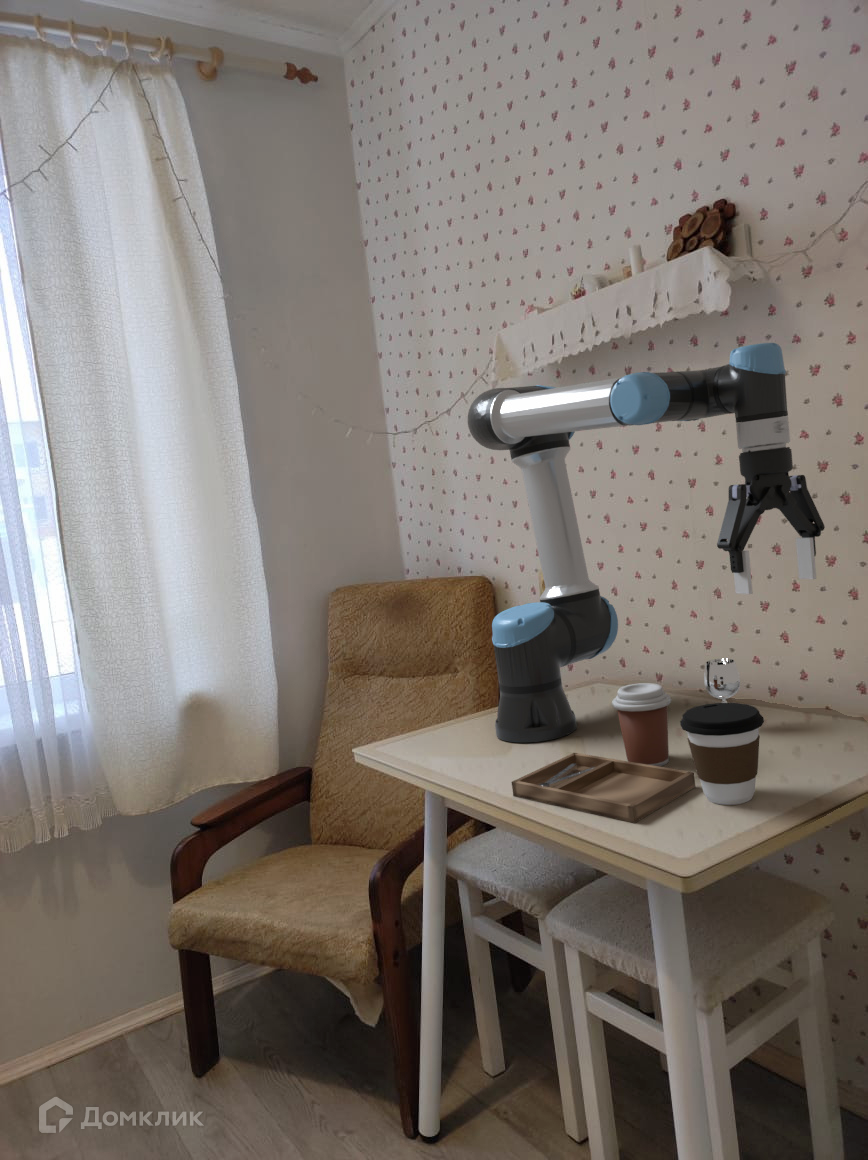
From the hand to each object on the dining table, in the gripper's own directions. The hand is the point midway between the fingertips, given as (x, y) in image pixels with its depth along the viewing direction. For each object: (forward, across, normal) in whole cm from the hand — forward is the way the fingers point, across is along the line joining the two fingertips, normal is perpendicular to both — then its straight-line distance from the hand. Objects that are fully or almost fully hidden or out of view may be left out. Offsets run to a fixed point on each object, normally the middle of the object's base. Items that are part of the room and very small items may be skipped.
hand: (776, 586), depth 138 cm
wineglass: (+26, 0, +13) cm, 29 cm away
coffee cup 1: (+26, -20, +11) cm, 34 cm away
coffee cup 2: (+26, -22, -9) cm, 35 cm away
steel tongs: (+25, -34, +12) cm, 44 cm away
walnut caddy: (+26, -32, +6) cm, 42 cm away
